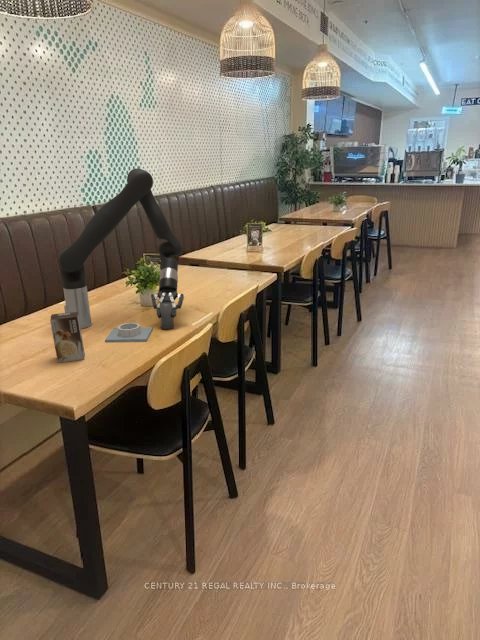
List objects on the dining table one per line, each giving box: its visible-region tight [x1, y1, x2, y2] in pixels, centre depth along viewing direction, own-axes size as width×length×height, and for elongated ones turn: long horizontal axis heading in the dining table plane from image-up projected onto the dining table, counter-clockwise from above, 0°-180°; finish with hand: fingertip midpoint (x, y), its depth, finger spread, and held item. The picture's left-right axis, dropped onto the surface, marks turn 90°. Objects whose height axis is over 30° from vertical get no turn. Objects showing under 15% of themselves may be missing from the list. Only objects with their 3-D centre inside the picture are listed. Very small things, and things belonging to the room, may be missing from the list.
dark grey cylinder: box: [160, 302, 175, 330], centre depth 189 cm, size 5×5×10 cm
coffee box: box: [49, 312, 86, 364], centre depth 162 cm, size 9×6×16 cm
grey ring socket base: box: [104, 322, 154, 343], centre depth 183 cm, size 16×13×4 cm
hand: (166, 317), depth 188 cm, fingers closed on dark grey cylinder, 5 cm apart
